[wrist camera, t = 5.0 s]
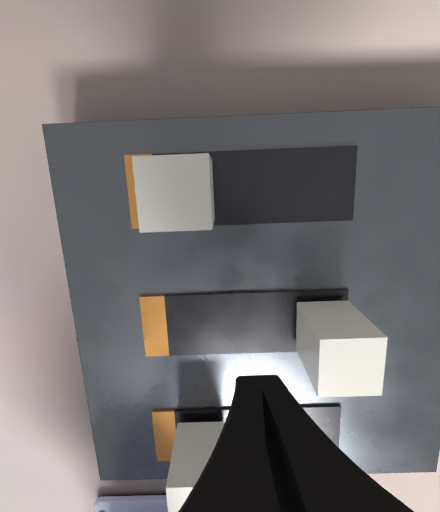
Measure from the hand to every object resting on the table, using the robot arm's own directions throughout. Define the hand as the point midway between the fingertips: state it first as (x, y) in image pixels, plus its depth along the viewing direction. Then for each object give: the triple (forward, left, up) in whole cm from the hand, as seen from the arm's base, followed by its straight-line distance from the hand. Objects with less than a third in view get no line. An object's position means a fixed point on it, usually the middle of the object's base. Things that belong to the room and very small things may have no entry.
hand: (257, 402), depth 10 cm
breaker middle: (0, -4, -5) cm, 6 cm away
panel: (0, -1, -8) cm, 8 cm away
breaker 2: (-6, +2, -5) cm, 9 cm away
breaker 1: (+7, +2, -5) cm, 9 cm away
